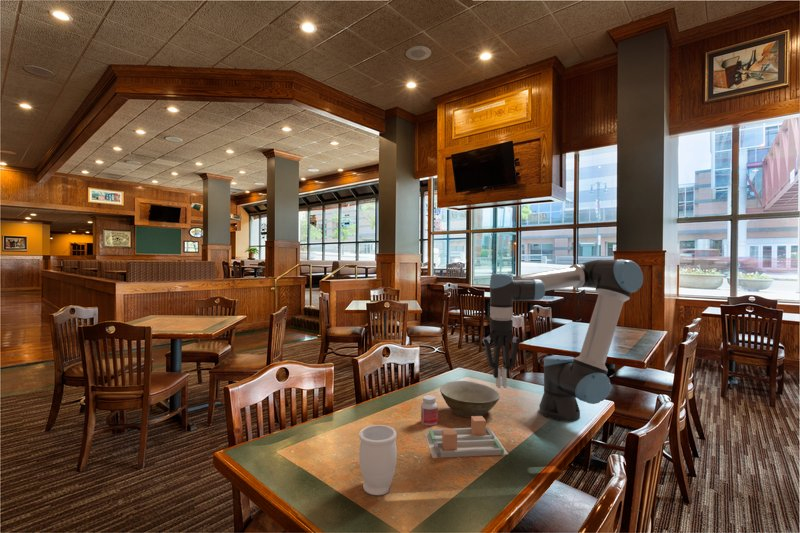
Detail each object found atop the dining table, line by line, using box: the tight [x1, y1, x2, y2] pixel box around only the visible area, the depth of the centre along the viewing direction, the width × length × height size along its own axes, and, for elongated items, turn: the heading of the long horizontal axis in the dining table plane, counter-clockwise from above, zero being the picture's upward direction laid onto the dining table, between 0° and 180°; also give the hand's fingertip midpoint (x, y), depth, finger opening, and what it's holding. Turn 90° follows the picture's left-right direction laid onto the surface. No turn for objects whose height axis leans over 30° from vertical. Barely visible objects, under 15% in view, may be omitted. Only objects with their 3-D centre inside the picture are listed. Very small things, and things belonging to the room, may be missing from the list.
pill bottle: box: [420, 394, 439, 427], centre depth 143 cm, size 6×6×11 cm
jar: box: [358, 424, 398, 496], centre depth 105 cm, size 11×10×15 cm
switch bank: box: [424, 426, 509, 459], centre depth 127 cm, size 24×16×3 cm, turn 95°
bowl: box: [439, 380, 501, 418], centre depth 154 cm, size 24×24×10 cm
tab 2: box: [470, 415, 487, 436], centre depth 131 cm, size 4×4×6 cm
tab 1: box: [441, 428, 457, 451], centre depth 122 cm, size 4×4×6 cm
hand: (501, 386), depth 132 cm, fingers closed
